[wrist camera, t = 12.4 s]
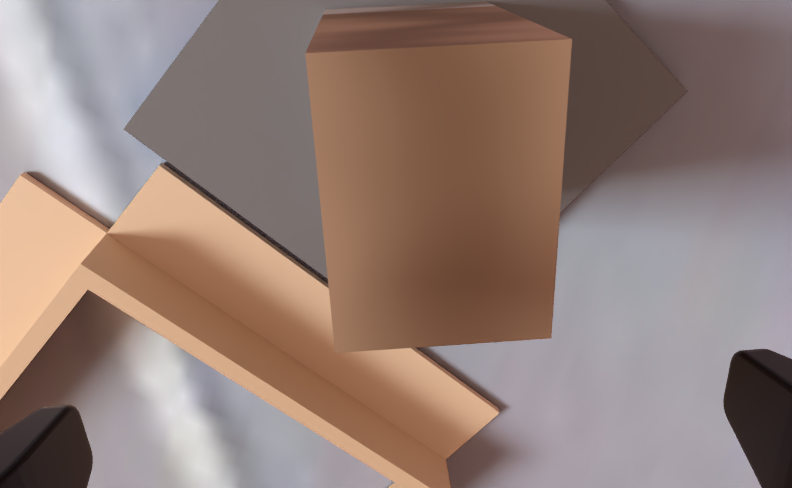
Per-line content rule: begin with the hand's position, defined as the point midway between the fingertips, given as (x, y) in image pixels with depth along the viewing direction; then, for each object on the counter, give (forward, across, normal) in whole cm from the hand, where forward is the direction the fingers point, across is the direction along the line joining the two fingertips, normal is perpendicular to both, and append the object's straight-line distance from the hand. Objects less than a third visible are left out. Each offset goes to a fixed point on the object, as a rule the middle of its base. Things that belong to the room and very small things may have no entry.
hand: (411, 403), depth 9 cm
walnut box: (+12, -1, -1) cm, 12 cm away
